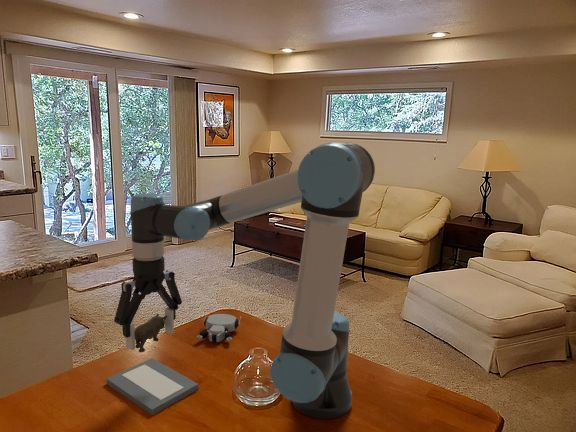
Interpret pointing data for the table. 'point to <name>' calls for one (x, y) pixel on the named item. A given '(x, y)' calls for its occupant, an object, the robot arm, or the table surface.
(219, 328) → the robot toy
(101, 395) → the table surface
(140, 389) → the display plate
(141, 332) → the rhino figurine
